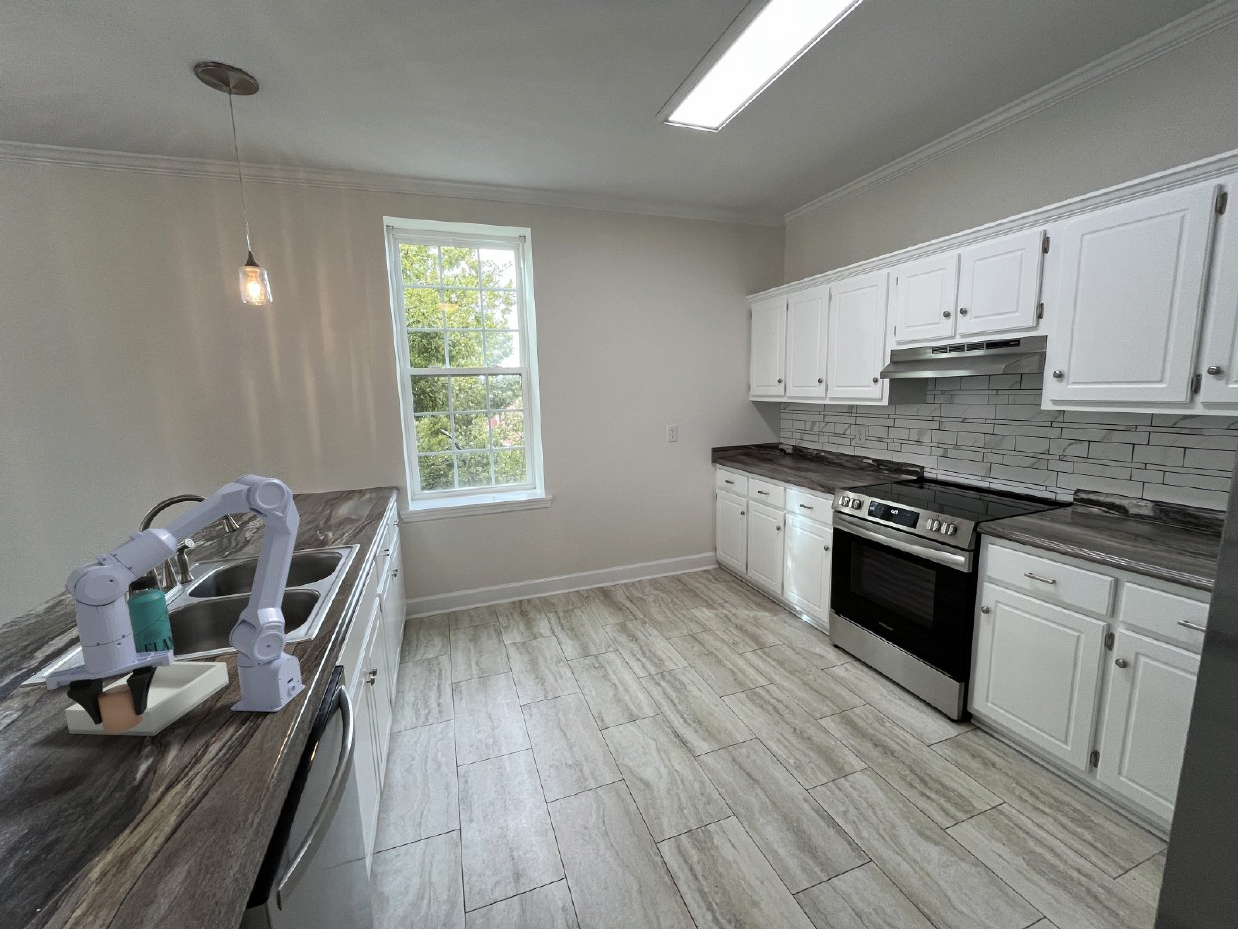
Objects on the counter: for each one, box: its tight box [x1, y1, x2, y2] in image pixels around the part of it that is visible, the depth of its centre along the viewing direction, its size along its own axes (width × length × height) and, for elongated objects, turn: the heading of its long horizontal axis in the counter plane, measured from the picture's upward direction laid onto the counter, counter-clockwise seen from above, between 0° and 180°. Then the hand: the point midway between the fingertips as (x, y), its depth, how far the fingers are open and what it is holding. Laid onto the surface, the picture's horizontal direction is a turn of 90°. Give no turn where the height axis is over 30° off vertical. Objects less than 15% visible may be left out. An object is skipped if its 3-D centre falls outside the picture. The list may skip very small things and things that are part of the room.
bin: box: [64, 660, 230, 737], centre depth 97 cm, size 16×16×5 cm
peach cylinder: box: [98, 684, 142, 736], centre depth 81 cm, size 4×4×6 cm
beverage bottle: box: [126, 575, 175, 653], centre depth 111 cm, size 6×7×20 cm
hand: (121, 716), depth 81 cm, fingers closed on peach cylinder, 4 cm apart
